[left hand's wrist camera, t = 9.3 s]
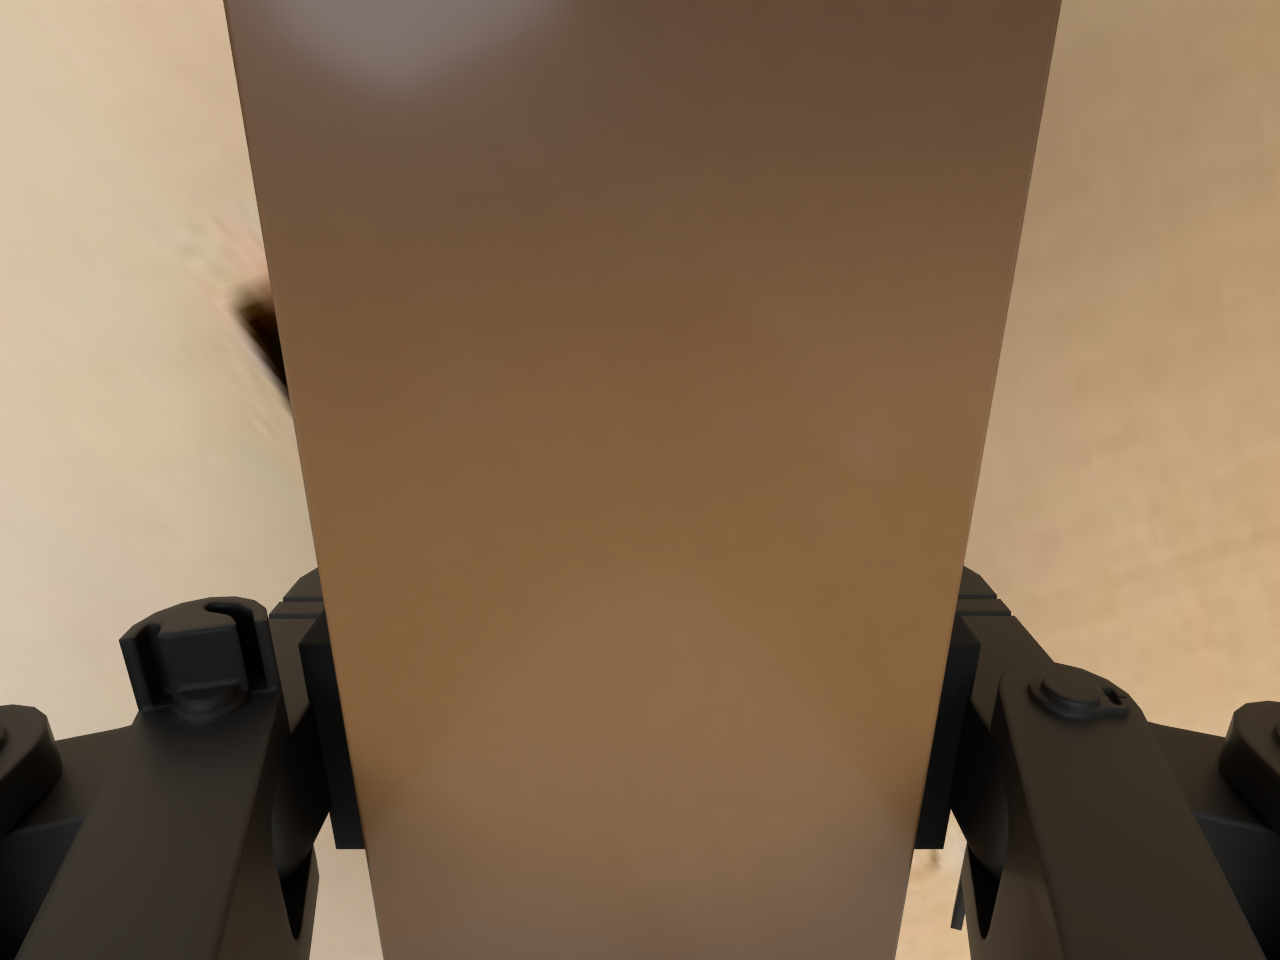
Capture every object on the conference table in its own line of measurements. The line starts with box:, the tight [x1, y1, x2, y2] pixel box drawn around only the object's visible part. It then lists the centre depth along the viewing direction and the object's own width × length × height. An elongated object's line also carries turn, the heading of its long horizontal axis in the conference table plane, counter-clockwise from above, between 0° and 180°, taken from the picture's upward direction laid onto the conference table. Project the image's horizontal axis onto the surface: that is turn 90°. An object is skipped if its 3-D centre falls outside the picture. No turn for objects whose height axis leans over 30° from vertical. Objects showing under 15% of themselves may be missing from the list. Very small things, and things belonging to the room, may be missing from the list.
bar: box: [223, 0, 1062, 960], centre depth 9 cm, size 22×5×8 cm, turn 0°
